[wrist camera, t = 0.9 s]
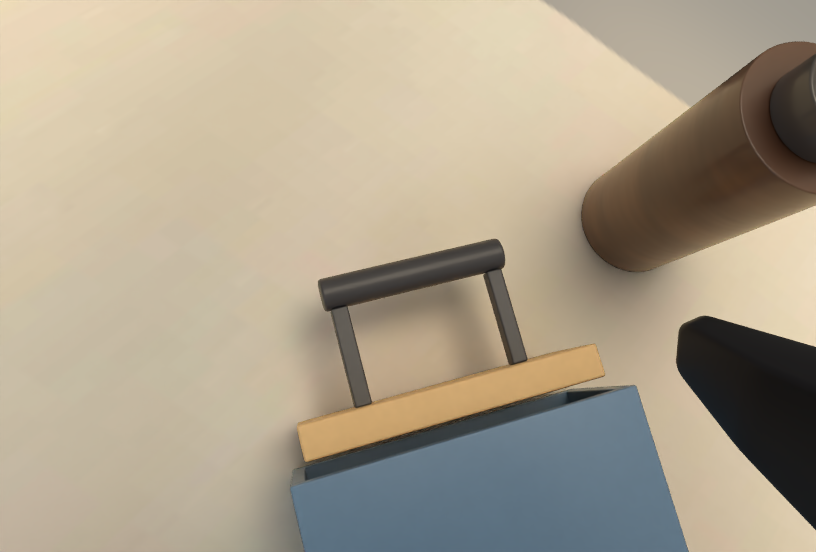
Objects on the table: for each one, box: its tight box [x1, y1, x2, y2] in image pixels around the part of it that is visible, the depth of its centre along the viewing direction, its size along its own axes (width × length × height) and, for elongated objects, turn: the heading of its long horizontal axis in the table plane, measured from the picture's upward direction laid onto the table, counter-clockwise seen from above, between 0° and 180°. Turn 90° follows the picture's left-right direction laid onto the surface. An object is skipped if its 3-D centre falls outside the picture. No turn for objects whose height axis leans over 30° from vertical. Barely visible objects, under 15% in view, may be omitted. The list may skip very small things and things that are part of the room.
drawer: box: [297, 239, 605, 462], centre depth 24 cm, size 18×11×4 cm, turn 15°
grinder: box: [582, 42, 816, 272], centre depth 23 cm, size 5×5×13 cm
